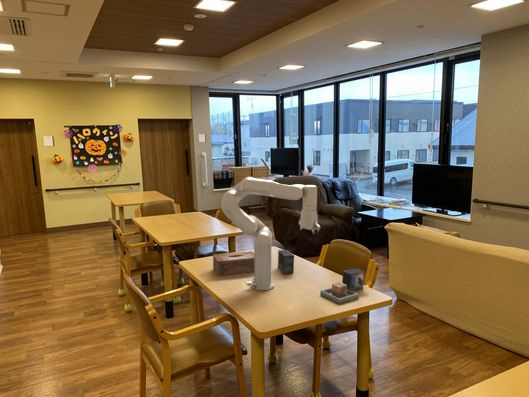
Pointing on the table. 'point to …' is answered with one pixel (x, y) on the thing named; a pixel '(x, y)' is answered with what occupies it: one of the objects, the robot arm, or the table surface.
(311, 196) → the robot arm
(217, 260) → the tissue box cover
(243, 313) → the table surface
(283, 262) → the small box
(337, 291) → the block
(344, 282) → the small box
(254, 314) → the table surface
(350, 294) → the tray
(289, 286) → the table surface
